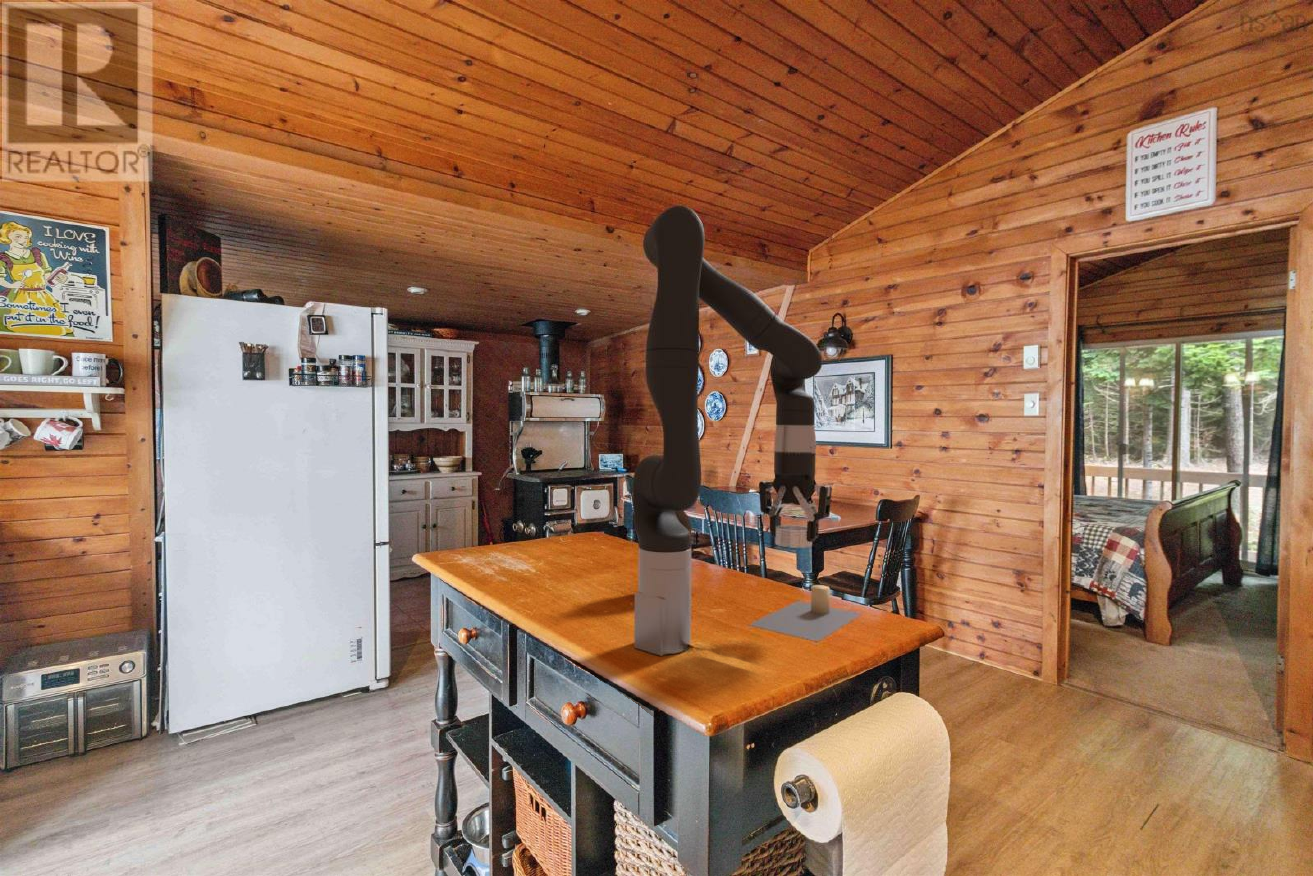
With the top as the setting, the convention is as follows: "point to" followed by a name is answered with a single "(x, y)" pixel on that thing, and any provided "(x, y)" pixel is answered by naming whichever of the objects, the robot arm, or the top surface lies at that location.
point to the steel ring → (792, 536)
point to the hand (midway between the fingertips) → (793, 538)
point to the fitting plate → (808, 617)
